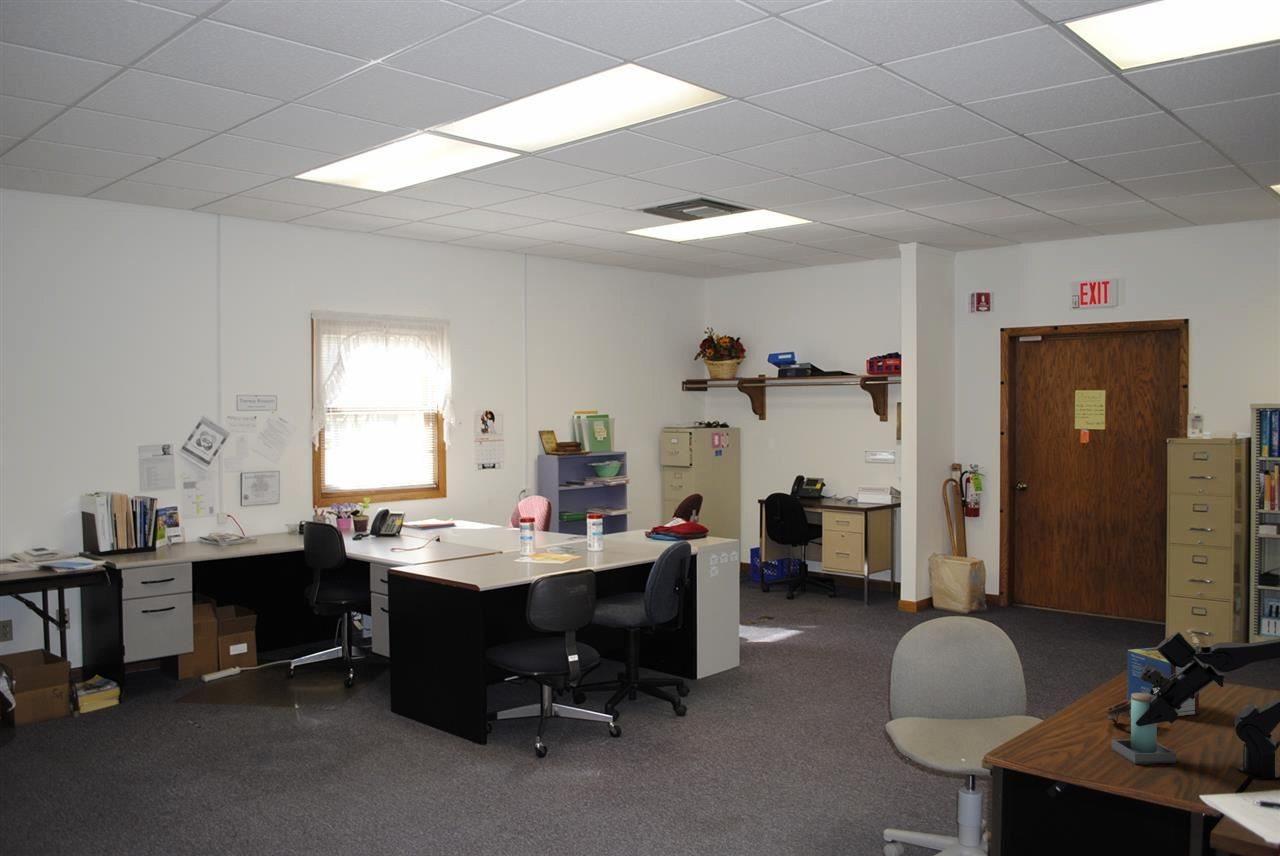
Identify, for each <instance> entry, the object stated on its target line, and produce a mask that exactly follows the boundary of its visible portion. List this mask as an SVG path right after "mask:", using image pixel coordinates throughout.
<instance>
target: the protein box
mask: <svg viewBox="0 0 1280 856" xmlns="http://www.w3.org/2000/svg"><path fill="white" fill-rule="evenodd" d="M1156 647H1157V646H1153V647H1146V648H1144V647H1143V648H1135V649H1128V650H1127V701H1128V700H1131V694H1132V693H1146V694H1150V690H1151V689H1153V690H1154V691H1155V690H1156V689H1157V688H1153V687H1152V684H1151V683H1149V682H1145V681H1143V680H1142V679H1140V675H1141V673H1142V671H1143V669H1144V668H1145V666H1146V664H1148V665H1150V666H1152V667H1154V668H1156V669H1158V670H1160V671H1162V672H1164V673H1165V674H1167V675H1169V676H1171V675H1172V674H1174V673H1175V674H1176V673H1177V674H1179V673H1180V672H1181V671H1183V670H1184V669H1185V668H1187V667H1188V666H1189V665H1190V664H1192V663H1193V662H1194V661H1193V660H1192V661H1191V662H1190V663H1189V664H1188V665H1186V666H1185V667H1183V668H1178V667H1173V666H1172V665H1171V664H1170V663H1169V662H1168V661H1167V660H1166V659H1165V658H1164V657H1163V656H1162V655H1161V654H1160V653H1159V652H1158V651H1157V650H1156ZM1199 702H1200V692H1199V693H1197V694H1196V697H1195V698H1194V699H1193V700H1192V699H1189V700H1188V701H1187V702H1185V703H1184V704H1183V705H1182V708H1180V709H1179V710H1178V716H1182V717H1186V716H1185V715H1190V716H1196V714H1198V715H1200V703H1199Z"/></svg>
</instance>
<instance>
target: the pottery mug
mask: <svg viewBox="0 0 1280 856" xmlns="http://www.w3.org/2000/svg"><path fill="white" fill-rule="evenodd" d="M1130 711H1131V700H1128V699H1127V700H1126V701H1125V700H1124V701H1121V702H1120V703H1117V704H1115V705H1114V706H1113V708H1112V707H1109V708H1108V709H1106V711H1105V712H1106V713H1107V714H1108V715H1107V720H1108V721H1112V722H1113V723H1114V722H1116V723H1117V722H1118V721H1119V715H1121V716H1122V717H1125V718H1131V713H1130Z"/></svg>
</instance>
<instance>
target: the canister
mask: <svg viewBox="0 0 1280 856" xmlns="http://www.w3.org/2000/svg"><path fill="white" fill-rule="evenodd" d="M1153 697H1154V695H1151V694H1146V693H1132V694H1131V709H1130V716H1131V717H1130V723H1131V724H1130V739H1131V748H1132V749H1133V750H1135V751H1138V752H1143V753H1155V752H1156V751H1157V743H1158V741H1157V736H1158V735H1157V724H1158V723H1155V724H1149V725H1144V726H1140V727H1139V726H1137V724H1136V721H1137V720H1138V719H1139V718H1140V717H1141V716H1142V715H1143V714H1144V712H1145V711H1146V710H1147V709H1148V708H1149V699H1152V698H1153Z"/></svg>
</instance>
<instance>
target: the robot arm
mask: <svg viewBox="0 0 1280 856" xmlns="http://www.w3.org/2000/svg"><path fill="white" fill-rule="evenodd" d="M1155 647H1156V650H1157V651H1158V652H1159V653H1160V654H1161V655H1162V656H1163V657H1164V658H1165V659H1166V660H1167V661H1168V662H1169V663H1170V664H1171V665H1172V666H1173V667H1178V668H1183V667H1185V666H1186V665H1188V664H1189V663H1190V662H1191V661H1192V660H1193V661H1194V662H1193V663H1192V664H1190V665H1189V666H1188V667H1187V668H1185V669H1184V670H1183V671H1181V672H1180V673H1179V674H1177V673H1176V674H1175V673H1174V674H1172V675H1171V676H1169V675H1167V674H1165V673H1164V672H1162V671H1160V670H1158V669H1156V668H1154V667H1152V666H1150V665H1148V664H1146V666H1145V668H1144V669H1143V671H1142V673H1141V675H1140V679H1142V680H1143V681H1145V682H1149V683H1151V684H1152V687H1153V688H1157V689H1156V690H1155V691H1154V690H1153V689H1151V690H1150V694H1151V695H1154V697H1153V698H1152V699H1149V708H1148V709H1147V710H1146V711H1145V712H1144V714H1143V715H1142V716H1141V717H1140V718H1139V719H1138V720H1137V721H1136V724H1137V726H1139V727H1140V726H1144V725H1149V724H1155V723H1157V724H1158V723H1159V724H1160V723H1164V722H1167V723H1170V724H1171V725H1172V724H1173V723H1174V722H1176V721H1177V720H1178V719H1179V717H1178V710H1179V709H1180V708H1182V705H1183V704H1184V703H1185V702H1187V701H1188V700H1189V699H1192V700H1193V699H1194V698H1195V697H1196V694H1197V693H1199V694H1200V693H1201V691H1203V690H1204V689H1205V688H1207V687H1208V686H1210V685H1211V684H1213V683H1214V682H1215V683H1216V684H1217V685H1218V686H1219V687H1220V688H1224V686H1225V685H1224V679H1225V673H1229V672H1232V671H1235V670H1238V669H1241V668H1245V667H1247V666H1249V665H1250V664H1252V663H1256V662H1261V661H1267V660H1273V659H1279V658H1280V638H1279V637H1278V638H1274V639H1268V640H1262V641H1256V642H1249V643H1248V642H1234V641H1233V642H1232V641H1231V642H1230V641H1228V642H1216V643H1213V644H1212V645H1211V646H1194V645H1192V644H1191V643H1190V642H1189V641H1188V640H1187V638H1185V636H1184V634H1182V633H1181V632H1180V631H1177V632H1176V633H1174V634H1172V635H1170V636H1169V637H1166V638H1164V640H1162V641H1161V642H1160V643H1159V644H1158V645H1157V646H1155ZM1216 670H1217V671H1216ZM1221 672H1222V673H1221ZM1279 724H1280V697H1277V698H1276V699H1274V700H1273V701H1270V702H1269V703H1267V704H1265V705H1261V706H1257V705H1256V703H1255V702H1251V703H1250V704H1249V705H1247V707H1245V708H1242V709H1239V710H1238V714H1237V715H1236V716H1235V718H1234V728H1235V733H1236V736H1237V737H1238V738H1239V739H1240V740H1241V741H1242V742H1243V750H1242V766H1237V767H1236V770H1237V771H1239V772H1241V773H1243V774H1245V775H1247V776H1248V777H1250V778H1252V779H1254V780H1277V779H1276V778H1280V774H1278V773H1276V749H1277V747H1276V742H1275V740H1274V739H1275V738H1274V736H1273V734H1272V732H1273V731H1274V730H1275V729H1276V727H1277V726H1278V725H1279Z"/></svg>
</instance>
